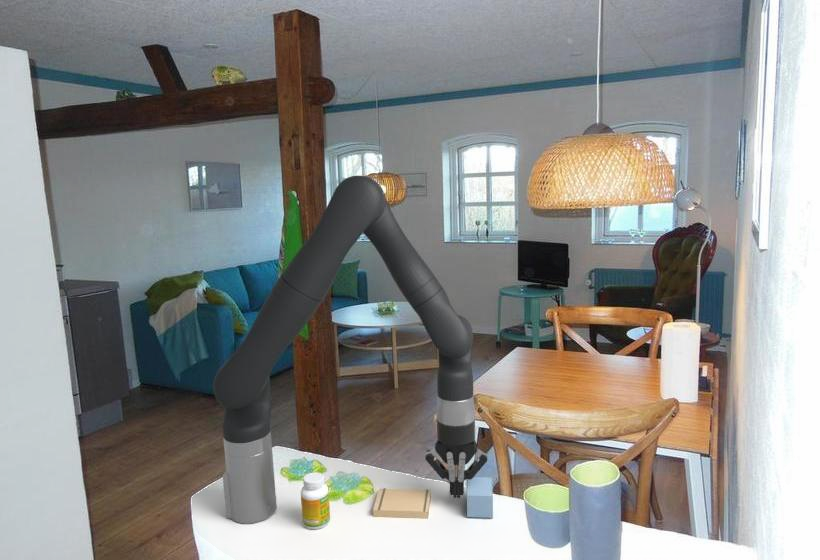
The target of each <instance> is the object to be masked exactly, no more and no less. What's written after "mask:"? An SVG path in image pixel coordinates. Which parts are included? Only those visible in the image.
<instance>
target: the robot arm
mask: <svg viewBox="0 0 820 560" xmlns="http://www.w3.org/2000/svg"><path fill="white" fill-rule="evenodd" d="M384 192H385V191H384V190H383V188H382V187H381V185H380V183H378V182H377V181H376V180H375V179H373V178H371V177H368V176H365V175H353V176H352V175H351V176H348V177H346V178H345V179H343V180H342V181H340V183H339V184H338V185H337V186H336V188H335V189H334V192H333V194H332V195H331V198H330V200H329V201H328V203H327V206H326V208H325V209H324V210H325V211H324V212H323V213H322V215H321V218H320V220H319V221H318V223H317V225H316V227H315V228H314V229H313V231H312V233H311V234H310V236H309V237H308V239H307V240H306V241H305V242H304V244H303V245H302V246H301V247H300V248H299V249H298V251H297V252H296V253H295V255H294V256H293V258H292V259H291V260H290V261H289V263H288V264H287V266H286V267H285V268H284V270H283V271H282V272H281V274H280V276H279V277H278V279H277V280H276V282H275V283H274V285H273V287H272V288H271V290H270V292H269V294H268V295H267V297H266V298H265V301H264V302H263V304H262V305H261V308H260V309H259V311H258V314H257V316H256V317H255V319H254V321H253V324H252V325H251V328H250V330H249V331H248V333H247V335H246V337H245V338H244V339H243V341H242V342H241V343H240V345H239V346H238V347H237V348H236V350H235V351H234V353H233V354H232V355H231V356H229V358H228V359H227V360H226V361H225V362H224V363H223V365H221V367H220V368H219V369H218V370H217V373H216V374H215V376H214V379H213V387H212V388H213V393H214V397H215V399H216V401H217V402H218V403H219V405H220V406H222V407H223V408H224V416H223V420H222V426H221V429H222V439H223V448H224V460H225V468H226V470H225V472H224V473H223V474H222V483H223V492H224V493H223V494H224V503H225V513H226V515H225V516H226V519H232V520H233V521H235V522H237V523H240V524H255V523H259V522H262V521H264V520H267V519H268V518H270V517H271V516H272V515H274V514H275V513H276V510H277V495H276V492H277V491H276V482H275V467H274V458H273V457H274V455H273V445H272V444H273V443H272V433H271V431H272V430H271V416H272V396H271V395H272V394H271V377H270V373H271V372H272V370H273V368H274V366H275V365H276V363H277V362H278V360H279V358H280V357H281V356H282V354H283V353H284V352H285V351H286V349H287V348H288V347H290V345H291V344H292V343H293V341H294V340H295V339H296V337H298V335H299V334H300V333H301V332H302V331H303V329H304V328H305V327H306V325H307V324H308V323H309V321H310V320H311V319H312V318H313V316H314V315H315V313H316V311H318V309H319V307H320V306H321V304H322V303H323V301H324V300H325V299H326V296H327V295H328V293H329V291H330V289H331V288H332V286H333V283H334V282H335V279H336V277H337V275H338V273H339V271H340V269H341V267H342V263H343V262H344V260H345V258H346V256H347V255H348V253H349V251H351V249H352V247H353V246H354V244H356V242H357V241H358V239H359V238H360V237H361V236H362V235H363V234H364V236H366V238H367V239H368V240H369V242H371V244H372V246H373V247H374V248H375V249H376V252H378V254H379V257H381V259H382V261H383V262H384V264H385V266H386V268H387V270H388V272H389V273H390V276H391V277H392V280H393V281H394V283H395V284H396V286H397V288H398V289H399V291H400V292H401V294H402V295H403V297H404V298H405V300H406V301H407V302H408V304H409V306H410V307H411V308H412V310H413V311H414V312H415V314H417V315H418V317H419V319H420V321H421V323H422V325H423V327H424V329H425V331H426V332H427V334H428V336H429V338H430V340H431V341H432V343H433V345H434V346H435V348H436V350H437V351H438V353H437V354H438V368H437V379H436V381H437V398H436V399H437V400H436V437H437V438H436V439H437V440H436V442H435V443H434V448H432V449H431V450H430V449H427V450H426V453H425V461H426V462H427V464H429V465H430V467H431V468H432V469H433V470H434V471H435V473H436V474H437V475H438V476H439V477H440V478H441V479H442V480H445V479H446V480H448V481H449V494H450V496H452V497H453V499H461V496H462V497H463V496H464V492H465V486H464V485H465V484H464V483H465V481H467V479H469V480H471V479H472V478H473V477H476V475H477V474H478V472H480V470H481V469H482V468H483V467H484V465H485V464H486V463H487V462H488V452H486V451H483V450H481V449H479V448H478V443H477V442H476V418H475V417H476V409H475V408H476V406H475V398H474V375H473V366H472V357H473V356H472V355H473V343H474V336H473V335H474V333H473V326H472V325H471V323H470V322H469V320H468V319H467V318H466V317H465V316H463V315H460V314H458V313H457V311H456V310H455V309H454V307H453V305H452V304H451V303H450V299H449V296H448V294H447V292H446V290H445V289H444V287H443V286H442V284H441V283H440V281H439V279H437V277H436V276H435V274H434V273H433V271H432V269H430V266H428V264H427V263H426V262H425V260H424V259H423V258H422V256H421V255H420V254H419V252H418V251H417V250H416V249H415V247H414V245H413V244H412V242H410V240H409V239H408V237H407V236H406V235H405V232H404V231H403V230H402V228H401V226H400V224H399V223H398V221H397V219H396V217H395V215H394V213H393V212H392V210H391V207H390V205H389V203H388V200H387V198H386V195H385V193H384ZM473 457H474V460H473V462H472V463H471V464H470V465H469V466H468V468H466V469H465V467H466V465H467V464H469V462H470V461H471V460H472V459H473ZM439 458H441V459H442V461H443V462H444V463H445V464H446V465H447V467H445V465H444V464H443V462H442V461H440V459H439ZM456 466H457V467H458V469H457V472H456ZM456 475H457V476H456Z"/></svg>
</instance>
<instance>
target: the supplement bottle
mask: <svg viewBox="0 0 820 560" xmlns="http://www.w3.org/2000/svg"><path fill="white" fill-rule="evenodd" d="M302 482H303V483H302V484H303V487H302V488H301V489H300V500H301V501H300V503H301V515H302V517H301V518H302V519H301V520H302V525H303V526H304V527H305V528H307V529H309V530H319V529H320V530H321V529H324V528H325V527H326V526H328V525H329V523H330V522H331V514H330V513H331V511H330V495H329V487H328V485H327V484H326V483H325V477H324V474H323V473H321V472H316V471H315V472H310V473H307V474H305V475H304V476H303V481H302Z"/></svg>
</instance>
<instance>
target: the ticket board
mask: <svg viewBox="0 0 820 560" xmlns="http://www.w3.org/2000/svg"><path fill="white" fill-rule="evenodd" d="M431 498H432V491H431V489H412V488H411V489H407V488H386V487H385V488H380V487H379V488H378V491H377V495H376V498H375V502H374V504H373V509H372V516H373V518H376V517H377V518H378V517H379V518H401V519H402V518H404V519H429V515H430V506H431Z"/></svg>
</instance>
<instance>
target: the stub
mask: <svg viewBox="0 0 820 560" xmlns="http://www.w3.org/2000/svg"><path fill="white" fill-rule="evenodd" d="M465 489H466V491H465V493H466V494H465V495H466V497H465V498H466V509H467V511H466V512H467V513H466V517H467V518H481V519H482V518H483V519H484V518H485V519H487V518H489V519H490V518H491V519H493V518H494V515H493V514H494V508H493V507H494V502H493V501H494V499H493V498H494V496H493V477H488V476H487V477H483V476H482V477H481V476H480V477H478V476H474V477H473V478H472V479H471V480H469V479H466V487H465Z"/></svg>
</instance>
